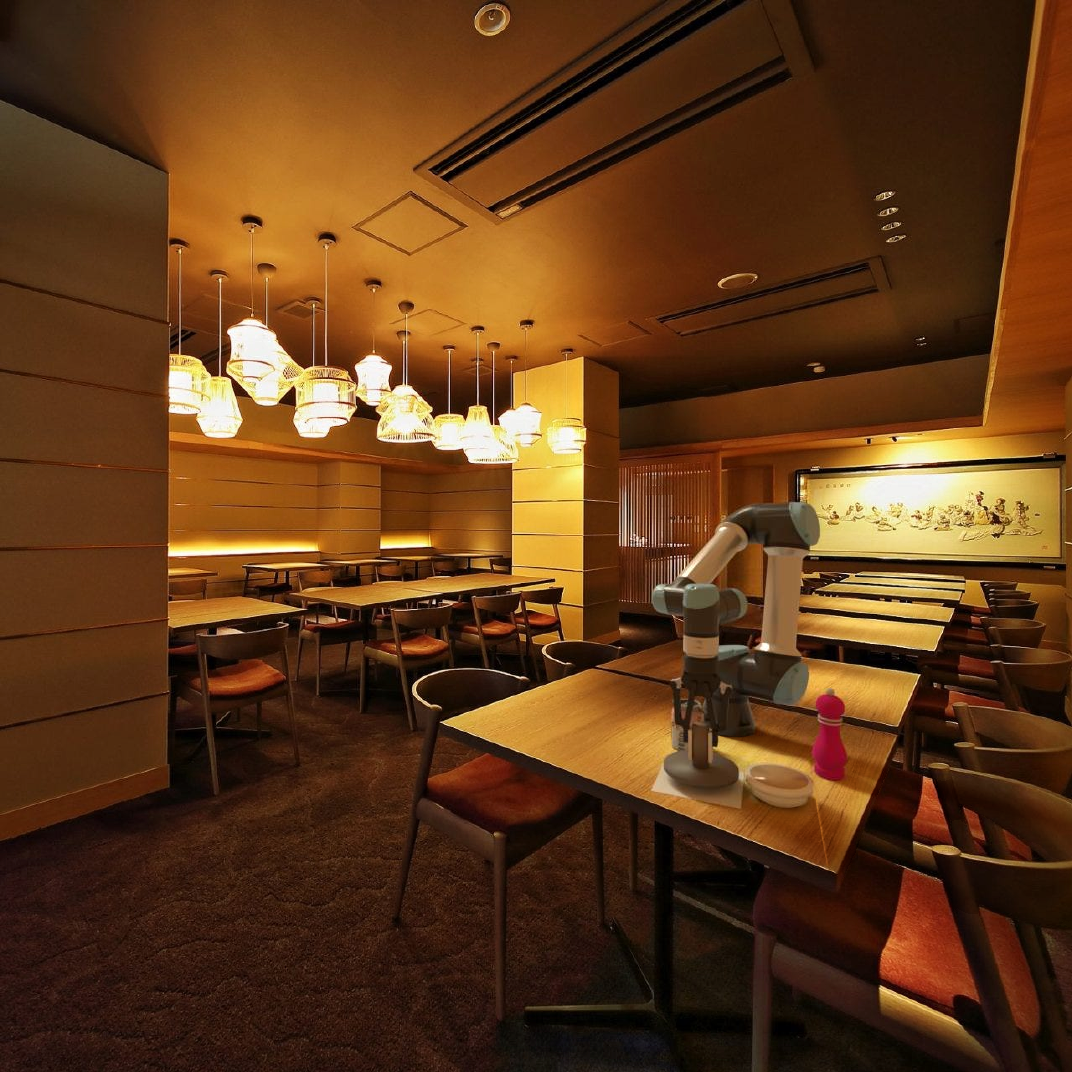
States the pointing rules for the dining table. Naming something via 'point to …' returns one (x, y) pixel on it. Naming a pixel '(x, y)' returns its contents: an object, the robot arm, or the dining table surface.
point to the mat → (701, 790)
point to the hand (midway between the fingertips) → (700, 758)
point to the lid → (701, 763)
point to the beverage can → (677, 730)
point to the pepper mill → (829, 738)
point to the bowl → (779, 784)
